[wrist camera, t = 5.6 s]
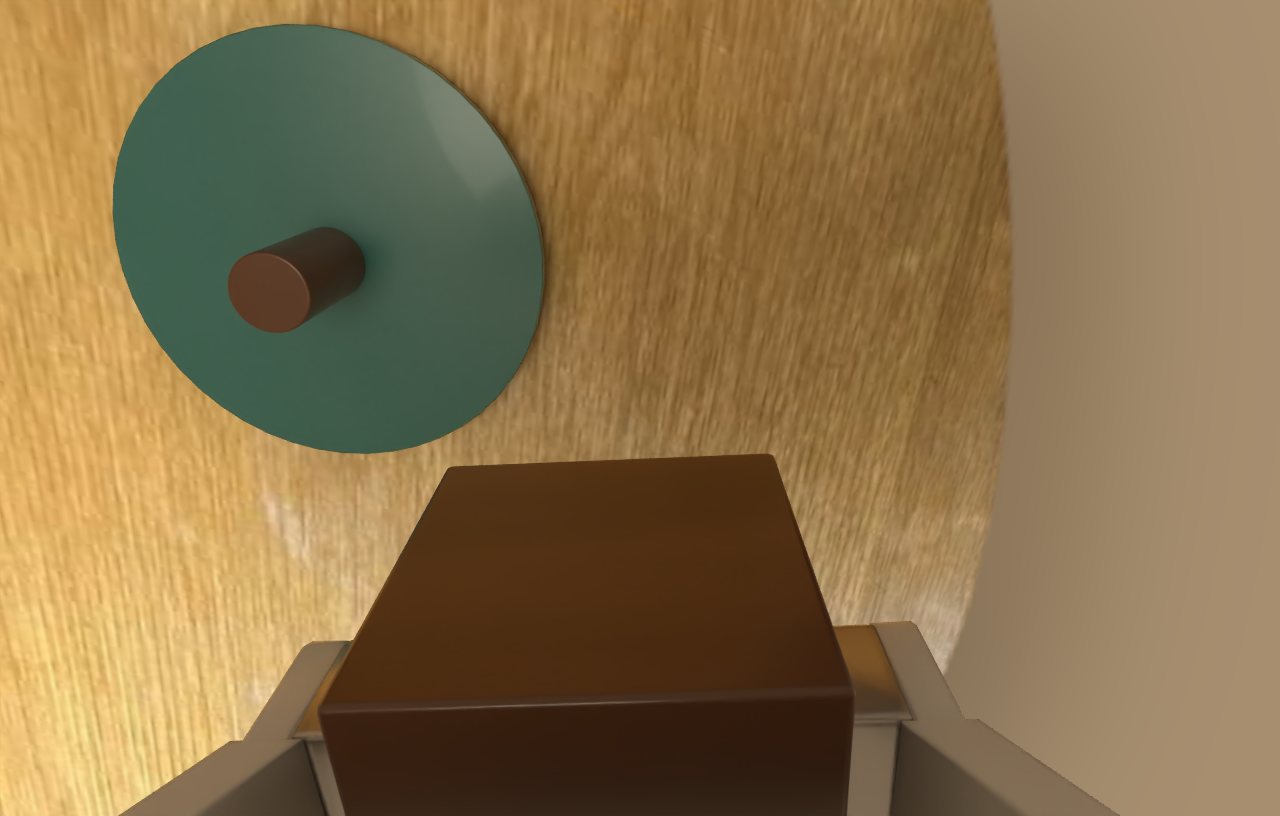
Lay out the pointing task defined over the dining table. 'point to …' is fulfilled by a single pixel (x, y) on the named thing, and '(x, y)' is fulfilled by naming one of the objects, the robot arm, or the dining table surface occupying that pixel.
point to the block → (597, 651)
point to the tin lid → (328, 238)
